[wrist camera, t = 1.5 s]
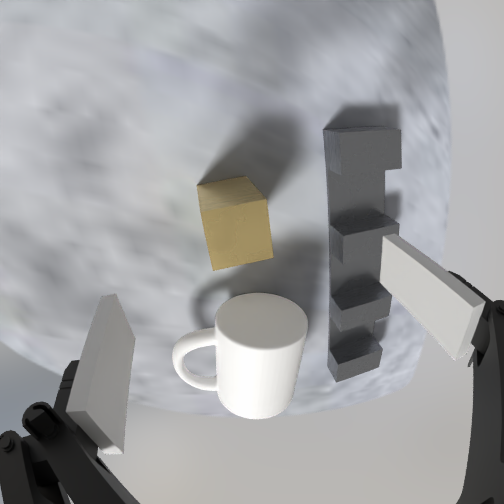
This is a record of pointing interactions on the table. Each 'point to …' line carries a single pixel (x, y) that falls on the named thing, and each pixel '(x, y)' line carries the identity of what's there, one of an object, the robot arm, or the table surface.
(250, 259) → the block
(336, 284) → the rail
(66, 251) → the table surface
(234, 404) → the mug
